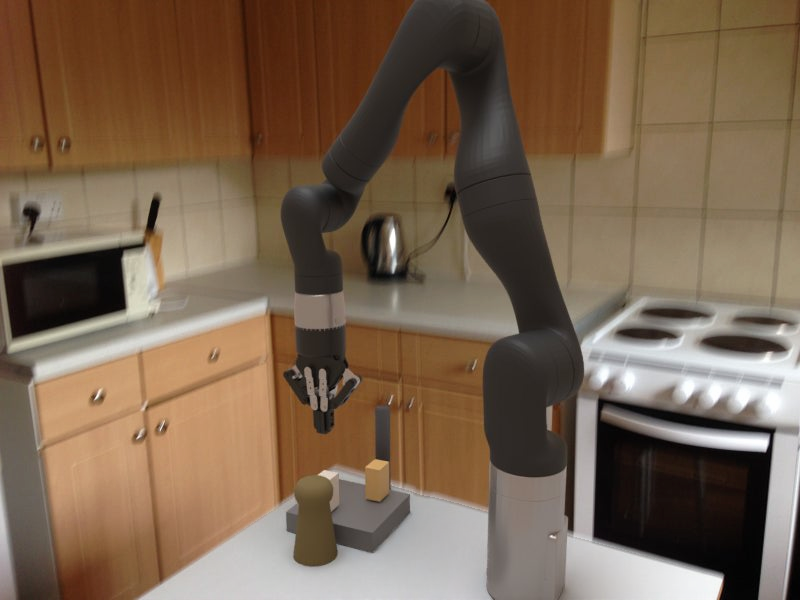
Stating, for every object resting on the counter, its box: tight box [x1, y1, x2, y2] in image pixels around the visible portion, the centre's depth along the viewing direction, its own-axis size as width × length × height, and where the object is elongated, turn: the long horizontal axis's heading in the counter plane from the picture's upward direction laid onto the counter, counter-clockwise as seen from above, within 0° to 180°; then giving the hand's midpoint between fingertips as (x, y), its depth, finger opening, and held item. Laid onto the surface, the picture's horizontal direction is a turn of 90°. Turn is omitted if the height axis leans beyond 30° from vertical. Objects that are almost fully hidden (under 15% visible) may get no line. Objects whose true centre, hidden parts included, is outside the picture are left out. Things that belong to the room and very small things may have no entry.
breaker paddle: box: [364, 458, 389, 502], centre depth 109 cm, size 2×3×5 cm
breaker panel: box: [285, 478, 411, 554], centre depth 108 cm, size 14×12×3 cm
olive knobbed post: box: [292, 474, 338, 567], centre depth 99 cm, size 6×6×11 cm
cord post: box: [374, 405, 392, 490], centre depth 117 cm, size 2×2×14 cm
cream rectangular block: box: [317, 469, 340, 512], centre depth 105 cm, size 2×3×5 cm
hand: (324, 432), depth 111 cm, fingers closed
